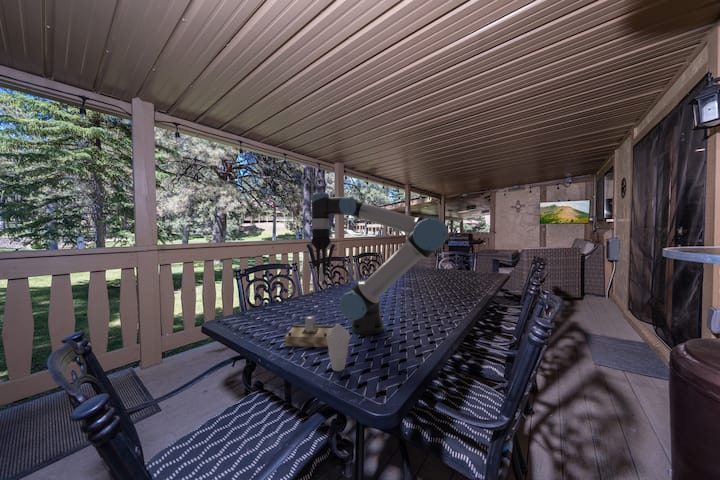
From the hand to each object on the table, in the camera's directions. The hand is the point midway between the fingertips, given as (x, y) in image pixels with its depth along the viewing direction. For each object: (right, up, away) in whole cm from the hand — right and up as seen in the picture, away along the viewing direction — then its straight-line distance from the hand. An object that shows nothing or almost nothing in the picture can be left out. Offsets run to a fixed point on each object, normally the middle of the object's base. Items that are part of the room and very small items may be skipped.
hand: (321, 281), depth 121 cm
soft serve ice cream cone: (+10, -26, -27) cm, 39 cm away
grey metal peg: (-4, -25, -4) cm, 25 cm away
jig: (-4, -25, -4) cm, 25 cm away
